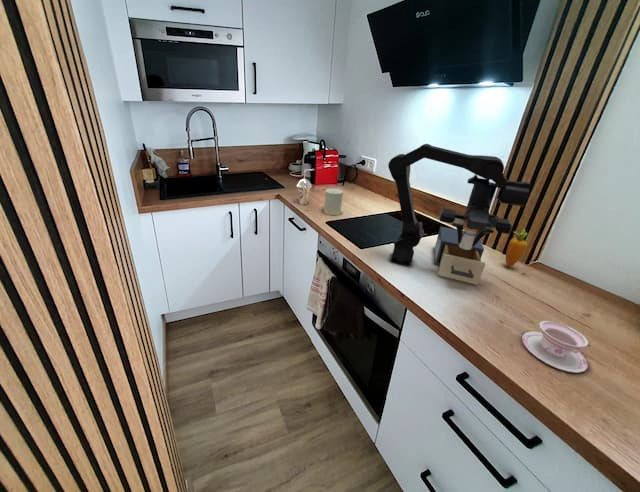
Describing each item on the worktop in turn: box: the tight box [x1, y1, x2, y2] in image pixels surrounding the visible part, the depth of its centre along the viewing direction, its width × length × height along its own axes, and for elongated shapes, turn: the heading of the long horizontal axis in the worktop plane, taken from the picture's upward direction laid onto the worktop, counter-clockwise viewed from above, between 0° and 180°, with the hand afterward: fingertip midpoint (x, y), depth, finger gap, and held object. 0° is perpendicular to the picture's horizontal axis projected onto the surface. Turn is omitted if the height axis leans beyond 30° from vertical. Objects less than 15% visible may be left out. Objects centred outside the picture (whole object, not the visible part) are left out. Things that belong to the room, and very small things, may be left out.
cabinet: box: [434, 226, 485, 266], centre depth 106 cm, size 14×13×10 cm
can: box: [322, 187, 344, 216], centre depth 148 cm, size 9×9×12 cm
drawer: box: [437, 244, 486, 285], centre depth 96 cm, size 17×12×8 cm
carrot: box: [505, 228, 528, 268], centre depth 101 cm, size 5×5×15 cm
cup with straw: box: [296, 168, 315, 205], centre depth 158 cm, size 8×9×20 cm
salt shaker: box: [459, 229, 476, 250], centre depth 92 cm, size 4×4×6 cm
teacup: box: [521, 320, 592, 374], centre depth 68 cm, size 12×12×6 cm
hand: (465, 244), depth 93 cm, fingers closed on salt shaker, 3 cm apart
